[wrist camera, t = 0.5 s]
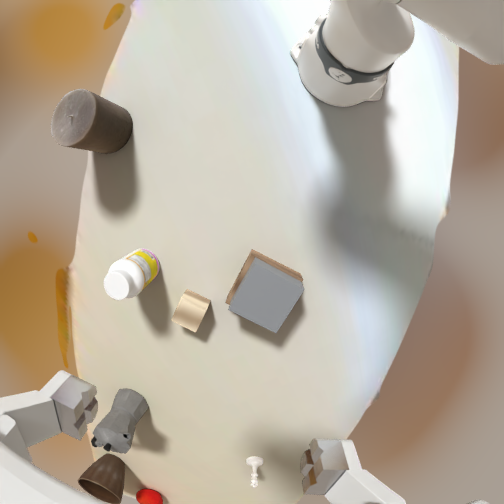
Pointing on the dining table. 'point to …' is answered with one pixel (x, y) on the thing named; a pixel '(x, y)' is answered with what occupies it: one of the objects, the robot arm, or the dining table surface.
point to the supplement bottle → (131, 274)
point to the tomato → (148, 497)
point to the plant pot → (105, 479)
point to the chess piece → (254, 468)
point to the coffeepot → (120, 422)
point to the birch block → (190, 310)
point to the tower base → (266, 260)
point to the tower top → (266, 295)
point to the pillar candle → (90, 123)
